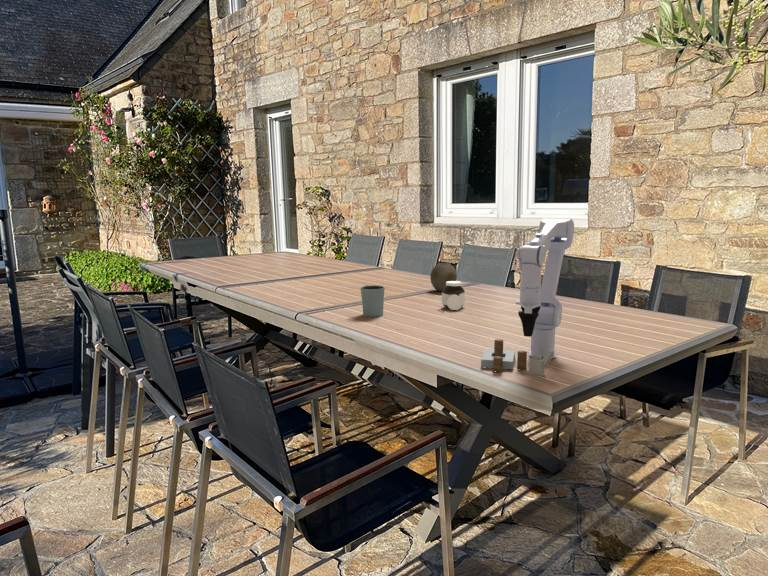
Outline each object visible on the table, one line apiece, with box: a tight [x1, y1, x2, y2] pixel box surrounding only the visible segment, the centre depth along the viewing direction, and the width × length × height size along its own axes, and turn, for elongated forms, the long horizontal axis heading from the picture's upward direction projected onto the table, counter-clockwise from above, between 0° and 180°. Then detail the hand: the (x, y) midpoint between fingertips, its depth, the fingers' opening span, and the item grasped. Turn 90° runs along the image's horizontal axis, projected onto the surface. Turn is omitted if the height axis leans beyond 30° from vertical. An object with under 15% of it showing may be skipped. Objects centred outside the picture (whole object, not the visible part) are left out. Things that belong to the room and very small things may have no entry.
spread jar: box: [441, 280, 466, 311], centre depth 253 cm, size 12×11×12 cm
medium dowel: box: [516, 350, 528, 371], centre depth 164 cm, size 3×3×5 cm
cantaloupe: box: [429, 262, 458, 292], centre depth 299 cm, size 14×14×15 cm
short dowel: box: [492, 356, 503, 373], centre depth 162 cm, size 3×3×4 cm
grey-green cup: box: [360, 284, 386, 318], centre depth 240 cm, size 10×10×12 cm
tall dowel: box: [493, 338, 504, 357], centre depth 170 cm, size 3×3×7 cm
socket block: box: [480, 348, 516, 371], centre depth 170 cm, size 12×9×2 cm
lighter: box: [528, 349, 555, 377], centre depth 158 cm, size 7×2×8 cm, turn 41°
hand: (528, 333), depth 166 cm, fingers open, 7 cm apart
